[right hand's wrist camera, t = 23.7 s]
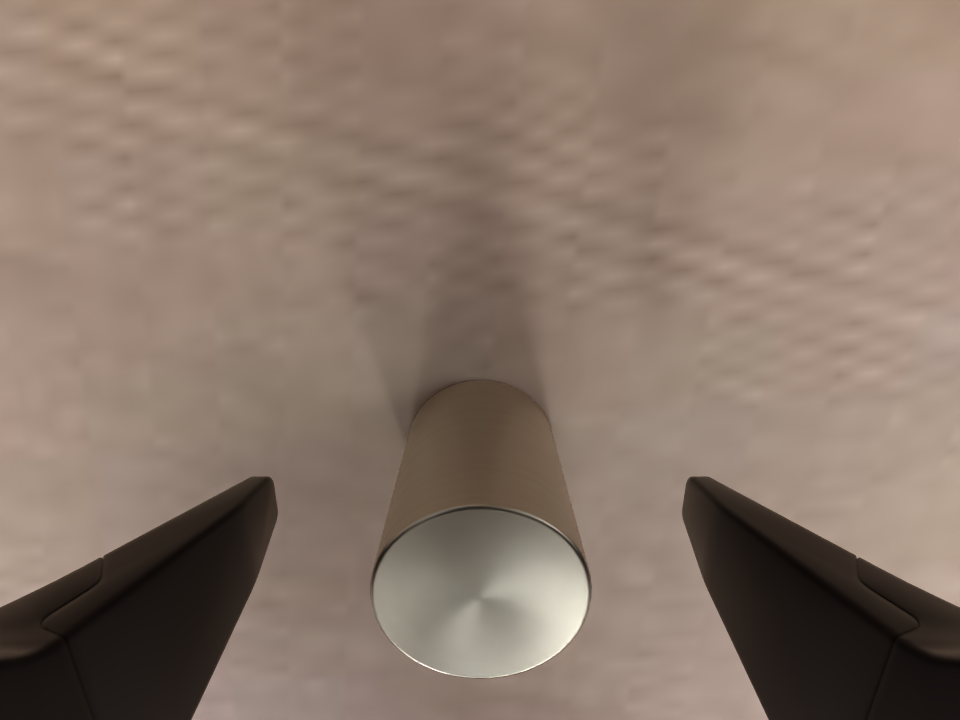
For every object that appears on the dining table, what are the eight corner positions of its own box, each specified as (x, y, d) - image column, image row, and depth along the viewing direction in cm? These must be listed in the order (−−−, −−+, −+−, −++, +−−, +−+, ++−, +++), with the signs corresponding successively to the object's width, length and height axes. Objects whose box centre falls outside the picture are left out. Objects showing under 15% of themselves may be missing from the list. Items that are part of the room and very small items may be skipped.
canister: (407, 376, 13) (364, 502, 8) (557, 381, 13) (604, 508, 8) (409, 505, 14) (373, 678, 9) (547, 508, 14) (581, 683, 9)
